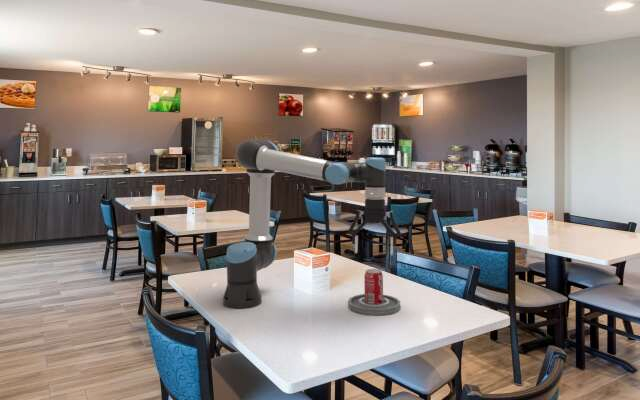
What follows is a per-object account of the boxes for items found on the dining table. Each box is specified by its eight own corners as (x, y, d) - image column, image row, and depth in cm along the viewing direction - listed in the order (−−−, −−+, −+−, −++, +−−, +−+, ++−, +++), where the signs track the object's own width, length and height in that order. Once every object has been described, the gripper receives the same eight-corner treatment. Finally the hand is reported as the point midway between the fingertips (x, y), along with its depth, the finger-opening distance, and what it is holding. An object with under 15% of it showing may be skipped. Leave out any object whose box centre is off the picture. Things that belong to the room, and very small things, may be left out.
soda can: (381, 307, 178) (382, 273, 177) (363, 305, 180) (363, 272, 179) (384, 301, 185) (384, 269, 184) (365, 300, 187) (366, 268, 185)
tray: (344, 313, 175) (344, 307, 174) (352, 297, 194) (352, 291, 194) (399, 317, 171) (399, 310, 170) (401, 300, 190) (401, 294, 190)
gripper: (340, 198, 177) (340, 253, 179) (408, 200, 172) (406, 257, 174) (343, 196, 185) (343, 249, 187) (408, 198, 179) (407, 253, 182)
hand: (373, 253), depth 180 cm, fingers open, 13 cm apart
